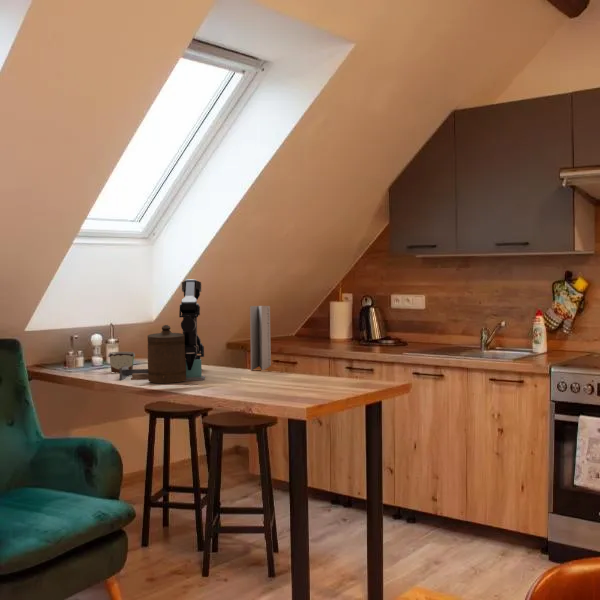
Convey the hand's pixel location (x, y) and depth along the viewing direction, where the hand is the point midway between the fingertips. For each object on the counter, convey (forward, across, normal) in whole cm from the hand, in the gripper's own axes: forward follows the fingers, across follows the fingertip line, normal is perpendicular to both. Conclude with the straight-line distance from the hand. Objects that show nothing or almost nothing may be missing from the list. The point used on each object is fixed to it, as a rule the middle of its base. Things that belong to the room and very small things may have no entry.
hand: (190, 369), depth 323 cm
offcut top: (+3, -7, -18) cm, 20 cm away
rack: (+4, -14, -18) cm, 23 cm away
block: (+3, 0, 0) cm, 3 cm away
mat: (+4, 0, 0) cm, 4 cm away
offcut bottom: (+5, -7, -18) cm, 20 cm away
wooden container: (+4, +10, -8) cm, 14 cm away
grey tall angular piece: (+4, -23, +30) cm, 38 cm away
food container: (+4, -38, -32) cm, 50 cm away
